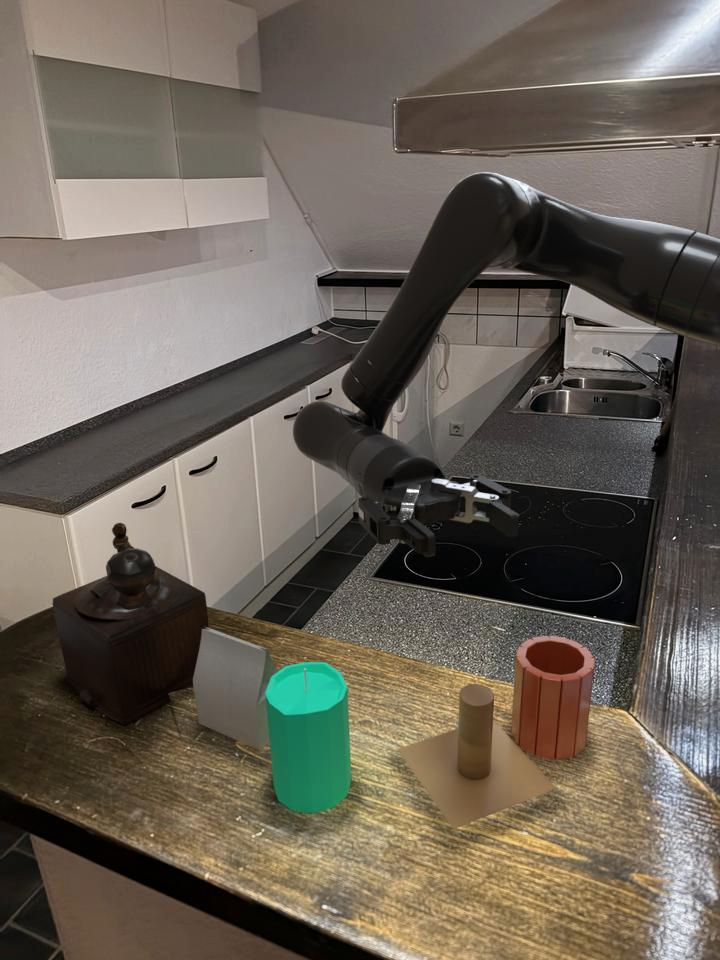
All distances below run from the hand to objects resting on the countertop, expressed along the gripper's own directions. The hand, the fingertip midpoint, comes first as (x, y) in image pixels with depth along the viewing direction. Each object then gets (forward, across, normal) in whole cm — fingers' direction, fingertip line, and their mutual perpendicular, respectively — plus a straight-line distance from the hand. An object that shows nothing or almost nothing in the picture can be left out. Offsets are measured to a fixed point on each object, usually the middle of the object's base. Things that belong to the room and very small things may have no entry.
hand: (474, 536), depth 68 cm
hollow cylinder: (+11, 0, +15) cm, 19 cm away
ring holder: (+12, -7, +15) cm, 20 cm away
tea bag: (-1, -22, +15) cm, 27 cm away
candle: (+8, -19, +15) cm, 26 cm away
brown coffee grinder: (-11, -28, +15) cm, 34 cm away
